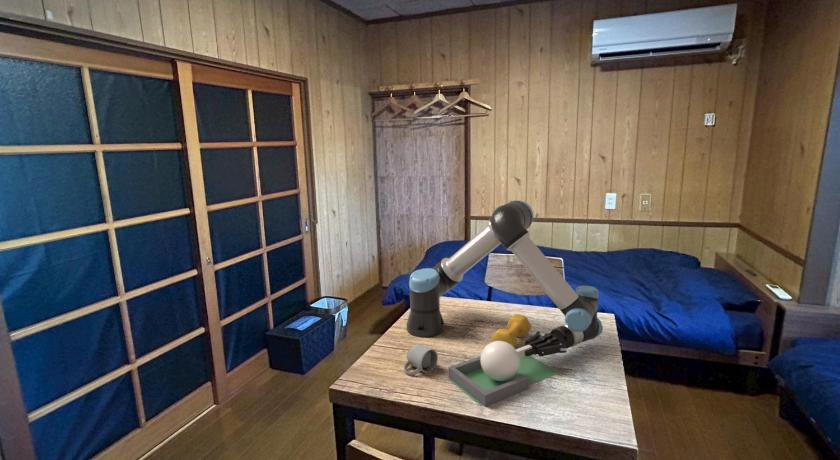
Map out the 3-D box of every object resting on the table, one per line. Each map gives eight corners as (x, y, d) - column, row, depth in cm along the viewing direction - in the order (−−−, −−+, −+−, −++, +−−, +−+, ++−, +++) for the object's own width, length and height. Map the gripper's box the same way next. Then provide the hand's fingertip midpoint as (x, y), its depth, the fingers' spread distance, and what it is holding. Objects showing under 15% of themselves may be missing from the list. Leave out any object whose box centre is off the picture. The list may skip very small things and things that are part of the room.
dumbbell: (513, 357, 147) (514, 335, 145) (489, 351, 152) (489, 329, 150) (532, 336, 162) (533, 316, 161) (510, 331, 167) (510, 311, 166)
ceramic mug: (421, 359, 147) (420, 338, 146) (438, 367, 142) (437, 346, 140) (398, 371, 140) (397, 350, 139) (415, 381, 134) (414, 358, 133)
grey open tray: (448, 377, 135) (448, 367, 134) (489, 362, 143) (489, 353, 143) (484, 406, 120) (484, 395, 119) (528, 388, 128) (528, 377, 127)
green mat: (448, 380, 134) (448, 379, 134) (524, 353, 150) (524, 352, 150) (480, 406, 120) (480, 405, 120) (559, 373, 136) (559, 372, 136)
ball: (503, 360, 142) (475, 376, 137) (499, 328, 138) (470, 344, 133) (529, 376, 132) (500, 395, 127) (526, 343, 128) (496, 361, 123)
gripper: (552, 319, 152) (501, 336, 141) (582, 333, 141) (530, 352, 130) (551, 339, 154) (501, 357, 142) (581, 353, 143) (530, 374, 131)
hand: (515, 354), depth 136 cm, fingers closed
